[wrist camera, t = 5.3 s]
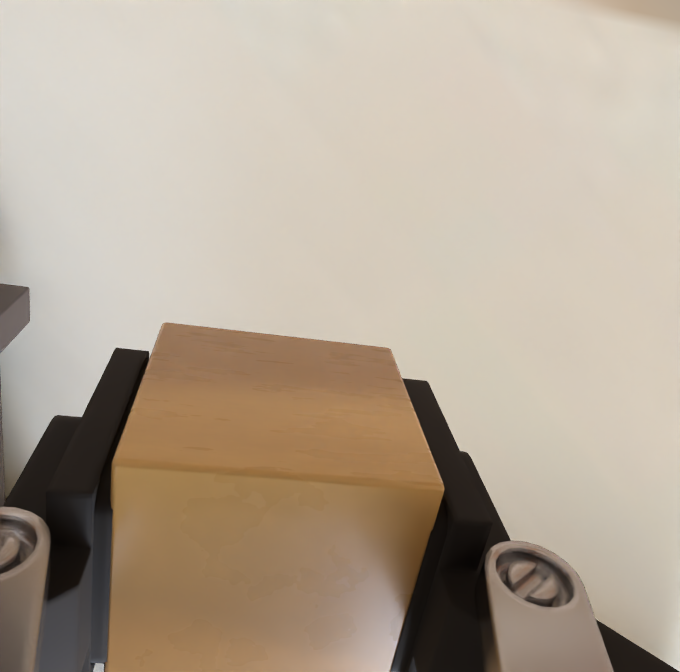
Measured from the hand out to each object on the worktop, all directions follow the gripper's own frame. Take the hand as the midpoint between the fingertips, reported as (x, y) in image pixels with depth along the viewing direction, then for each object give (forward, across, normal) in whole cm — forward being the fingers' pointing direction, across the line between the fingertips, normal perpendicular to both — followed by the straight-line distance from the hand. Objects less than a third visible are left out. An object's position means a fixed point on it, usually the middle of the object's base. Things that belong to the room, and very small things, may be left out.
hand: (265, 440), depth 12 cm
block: (0, 0, 0) cm, 0 cm away
